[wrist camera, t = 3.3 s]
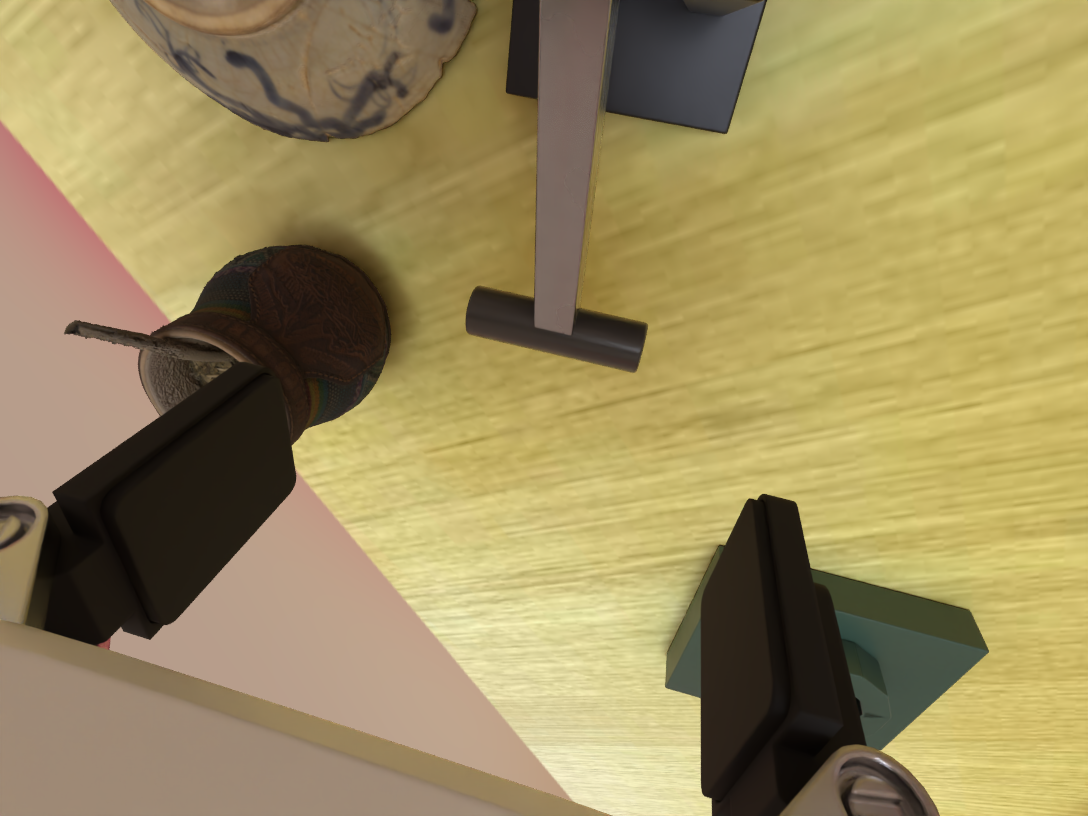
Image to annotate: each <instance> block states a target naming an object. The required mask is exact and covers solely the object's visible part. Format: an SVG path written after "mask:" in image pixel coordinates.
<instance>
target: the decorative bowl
mask: <svg viewBox="0 0 1088 816" xmlns="http://www.w3.org/2000/svg"><path fill="white" fill-rule="evenodd" d="M110 2H111V3H112V4H113V6H114V7H115V8H116V9H117V11H118V12H119V13H120V14H121V15H122V17H123V18H124V19H125V20H126V21H127V23H128V24H129V25H130V26H131V27H132V28H133V30H134V31H135V32H136V33H137V34H138V35H139V36H140V37H141V38H142V39H143V40H144V41H145V42H146V43H147V44H148V45H149V46H150V47H151V48H152V49H153V50H154V51H155V52H156V53H157V54H158V55H159V56H160V57H161V58H162V59H163V60H164V61H165V62H166V63H168V64H169V65H170V66H171V67H172V68H173V69H174V70H175V71H177V72H178V73H179V74H180V75H181V76H183V77H184V78H185V79H186V80H187V81H189V82H190V83H191V84H192V85H194V86H195V87H196V88H198V89H199V90H201V91H202V92H203V93H205V94H206V95H207V96H209V97H210V98H212V99H213V100H215V101H217V102H218V103H220V104H221V105H223V106H224V107H226V108H227V109H229V110H230V111H232V112H233V113H234V114H237V115H238V116H240V117H241V118H243V119H245V120H247V121H249V122H250V123H252V124H254V125H257V126H259V127H261V128H262V129H264V130H268V131H271V132H274V133H277V134H279V135H282V136H286V137H290V138H297V139H305V140H310V141H321V142H328V141H329V137H328V136H333V137H335V138H340V139H345V138H358V137H360V136H364V135H368V134H373V133H375V132H376V131H377V130H381V129H384V128H387V127H389V126H391V125H393V124H394V123H396V122H397V121H398V120H399V119H400V118H402V117H403V116H404V115H405V114H406V113H407V112H409V111H410V110H411V109H412V108H413V107H414V106H415V105H416V104H417V103H419V102H421V101H423V100H424V99H425V98H426V96H427V94H428V92H429V91H430V90H431V89H432V87H433V86H434V83H435V82H436V81H437V80H438V79H439V78H440V77H441V76H442V63H444V62H446V61H447V62H448V61H450V60H451V59H452V58H453V57H454V56H455V55H456V53H457V51H458V49H459V48H460V46H461V44H462V42H463V40H464V39H465V36H466V35H467V33H468V31H469V29H470V24H471V22H472V19H473V18H474V16H475V14H476V5H475V4H474V3H472V2H470V1H469V0H110Z"/></svg>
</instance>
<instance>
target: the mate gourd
mask: <svg viewBox="0 0 1088 816" xmlns="http://www.w3.org/2000/svg"><path fill="white" fill-rule="evenodd" d="M64 334H74V335H78V336H82V337H85V338H86V339H87V338H96V339H100V340H103V341H108V342H112V344H117V343H118V344H122V345H124V346H132V347H137V349H140V353H139V359H138V369H139V370H138V371H139V375H140V379H141V383H142V386H143V388H144V390H145V392H146V394H147V396H148V398H149V399H150V401H151V403H152V404H153V406H154V407H155V409H156V411H157V412H158V414H159V415H160V416H162V415H163V414H164V413H166V412H167V411H169V410H170V409H172V408H173V407H174V406H176V405H177V404H179V403H180V402H182V401H183V400H184V399H186V398H187V397H189V396H190V395H192V394H193V393H194V392H196V391H197V390H199V389H200V388H202V387H203V386H204V385H206V384H207V383H209V382H210V381H212V380H213V379H214V378H216V377H217V376H219V375H220V374H222V373H223V372H224V371H226V370H227V369H229V368H230V367H232V366H233V365H234V364H236V363H238V362H248V363H251V364H255V365H259V366H263V367H267V368H270V369H272V370H273V372H274V373H275V376H276V377H277V378H279V380H280V381H281V384H282V390H283V396H284V403H285V409H286V415H287V421H288V427H289V434H290V440H291V446H292V445H293V444H294V443H295V442H296V441H297V440H298V439H299V438H300V436H301V435H302V433H303V432H304V430H305V429H307V428H309V427H312V426H315V425H319V424H322V423H325V422H328V421H332V420H334V419H336V418H338V417H340V416H341V415H343V414H345V413H346V412H348V411H349V410H351V409H353V408H354V407H355V406H357V405H358V404H359V403H360V402H361V401H362V400H363V399H364V398H365V397H366V396H367V395H368V394H369V392H370V391H371V390H372V388H373V387H374V385H375V384H376V382H377V380H378V378H379V376H380V374H381V373H382V369H383V366H384V364H385V360H386V358H387V356H388V353H389V349H390V343H391V328H390V322H389V317H388V312H387V308H386V305H385V303H384V300H383V299H382V297H381V295H380V293H379V292H378V290H377V288H376V287H375V286H374V285H373V283H372V282H371V281H370V279H369V278H368V277H367V275H366V274H365V273H364V272H363V271H362V270H360V269H359V267H357V266H355V265H354V264H353V263H352V262H350V261H349V260H348V259H346V258H345V257H343V256H340V255H336V254H332V253H329V252H327V251H324V250H321V249H318V248H315V247H313V246H308V245H291V246H275V247H274V246H273V247H268V248H267V247H265V248H263V249H259V250H255V251H252V252H248V253H246V254H244V255H239V256H237V257H235V258H234V260H232V261H230V262H229V263H228V264H226V265H224V267H223V268H222V269H221V270H219V271H218V272H216V273H215V274H214V276H213V277H212V279H211V280H210V281H209V282H207V284H206V286H205V287H204V289H203V291H202V293H201V295H200V297H199V299H198V301H197V303H196V305H195V307H194V309H193V310H192V311H191V313H190V314H187V315H184V316H182V317H179V318H178V319H177V320H175V321H173V322H172V323H170V324H168V325H166V326H163V327H161V328H160V329H158V330H157V331H154V332H152V333H151V335H150V336H149V335H146V334H143V333H136V332H131V331H127V330H121V329H117V328H112V327H106V326H100V325H97V324H91V323H87V322H81V321H76V320H75V321H74V322H72V323H71V324H69V325H68V326H67V328H66V330H65V332H64Z"/></svg>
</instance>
